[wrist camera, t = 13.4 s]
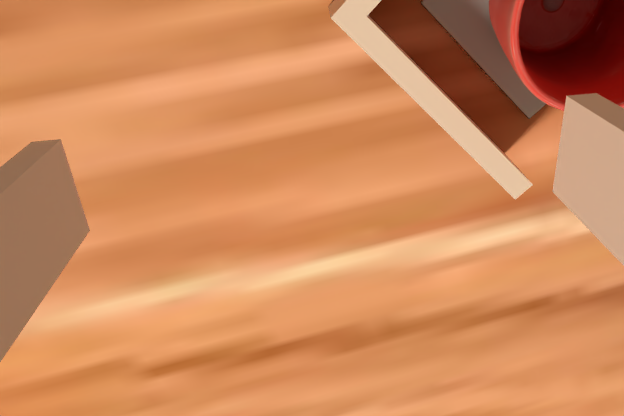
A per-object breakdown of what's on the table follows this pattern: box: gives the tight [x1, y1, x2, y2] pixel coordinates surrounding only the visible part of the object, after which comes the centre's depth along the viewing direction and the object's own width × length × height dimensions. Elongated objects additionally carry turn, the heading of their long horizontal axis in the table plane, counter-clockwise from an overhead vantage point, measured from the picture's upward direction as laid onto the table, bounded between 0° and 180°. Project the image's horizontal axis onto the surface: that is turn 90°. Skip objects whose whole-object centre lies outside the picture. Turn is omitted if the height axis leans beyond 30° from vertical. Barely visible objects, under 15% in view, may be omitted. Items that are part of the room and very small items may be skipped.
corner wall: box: [328, 0, 533, 199], centre depth 34 cm, size 18×18×6 cm
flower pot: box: [489, 0, 624, 111], centre depth 32 cm, size 11×11×10 cm
